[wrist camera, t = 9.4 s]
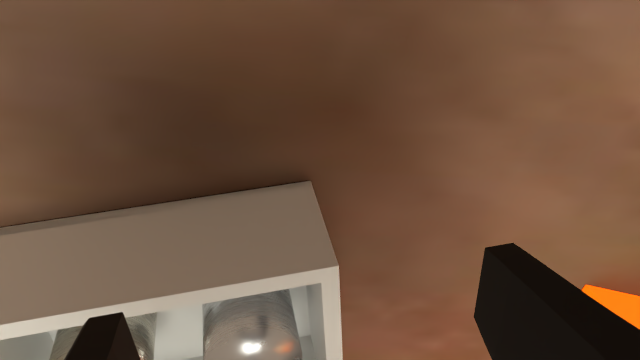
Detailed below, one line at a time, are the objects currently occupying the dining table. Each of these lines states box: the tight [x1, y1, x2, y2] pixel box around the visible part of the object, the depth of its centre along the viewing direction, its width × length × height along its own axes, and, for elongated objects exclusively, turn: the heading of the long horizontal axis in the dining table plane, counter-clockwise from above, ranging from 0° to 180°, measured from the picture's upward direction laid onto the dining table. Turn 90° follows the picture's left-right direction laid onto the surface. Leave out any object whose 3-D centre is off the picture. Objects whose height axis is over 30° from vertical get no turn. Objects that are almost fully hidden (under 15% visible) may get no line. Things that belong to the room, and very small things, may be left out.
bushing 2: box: [202, 289, 302, 360], centre depth 21 cm, size 4×4×4 cm
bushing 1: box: [49, 312, 157, 360], centre depth 20 cm, size 4×4×4 cm
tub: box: [0, 181, 343, 360], centre depth 21 cm, size 12×9×5 cm
